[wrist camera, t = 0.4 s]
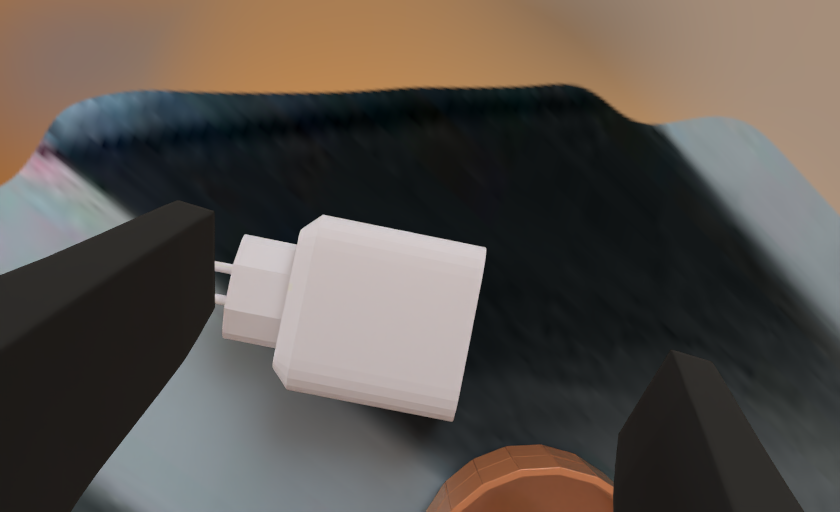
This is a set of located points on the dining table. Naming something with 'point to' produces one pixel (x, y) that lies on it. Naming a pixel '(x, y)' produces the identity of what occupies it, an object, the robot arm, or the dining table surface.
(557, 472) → the basin
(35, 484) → the robot arm
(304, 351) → the charger
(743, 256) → the dining table surface
